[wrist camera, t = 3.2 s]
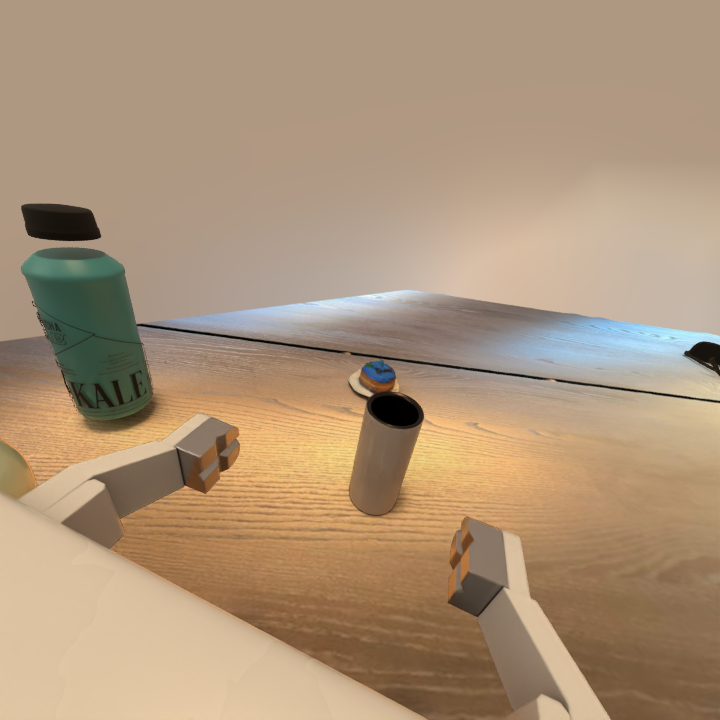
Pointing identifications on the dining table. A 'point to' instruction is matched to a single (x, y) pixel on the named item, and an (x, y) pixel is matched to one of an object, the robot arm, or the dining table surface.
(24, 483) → the pale green two-tone container
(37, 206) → the beverage bottle
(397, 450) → the grey tumbler
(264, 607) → the dining table surface
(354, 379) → the dessert
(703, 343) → the sunglasses
